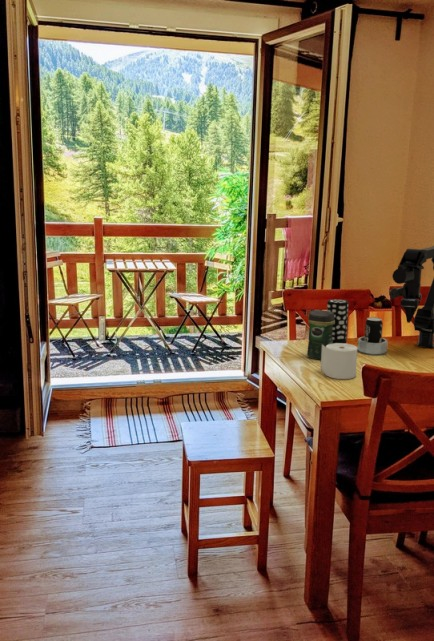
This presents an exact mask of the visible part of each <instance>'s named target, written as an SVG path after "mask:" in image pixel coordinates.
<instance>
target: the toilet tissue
mask: <svg viewBox="0 0 434 641" xmlns="http://www.w3.org/2000/svg"><path fill="white" fill-rule="evenodd" d="M357 348H358V346H356V345H354V344H350V343H346V344H345V343H334V344H329V345H327V346H326V347H325V346H324V345H322V352H321V360H320V369H321V370H320V371H322V373H323V374H324V375H325V376H327V377H328V378H329V377H330V378H332V379H335V380H348V379H349V380H350V379H354V378H355V377H356V376H357V361H358V351H357Z"/></svg>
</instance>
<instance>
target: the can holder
mask: <svg viewBox="0 0 434 641" xmlns="http://www.w3.org/2000/svg"><path fill="white" fill-rule="evenodd" d="M364 339H365V336H361V337H358V338H357V353H360V354H362V355H367V356H385V355H387V354H388V339H386V338H385V337H382V341H381V343H369V342H364Z"/></svg>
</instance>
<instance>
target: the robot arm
mask: <svg viewBox="0 0 434 641" xmlns="http://www.w3.org/2000/svg"><path fill="white" fill-rule="evenodd" d="M428 259H429V260H430V259H431V262H432V264H433V265H432V266H433V267H432V269H433V271H434V245H432V246H429V247H424V248H418V249H417V248H407V249H406V250H405V251H404V253H403V255H402V257H401V260H400V261H399V264H398V265H397V269H395V270H394V271H393V273H392V280H393V282H395V283H396V284H400V285H401V284H403V286H401V287H394V288H391V289H390V290H389V291H388V294H389V296H390V300H394V299H395V298H398V297H402V298H401V300H400V307H401V308H402V309H404V311H405V318H406V323H408V324H409V323H410V324H411V321H412V320H413V327H414V328H413V329H414V331H418V342H417V344H416V347H418V348H419V347H420V348H429V349H434V277H433V278H432V281H431V284H430V288H429V291H428V293H427V296H426V299H425V302H424V305H423V306H422V307H421V308H420V307H419V305H420V303H421V300H422V293H421V286H422V285H421V283H422V282H421V280H422V270H424V269H425V267H424V265H423V264H425V263H426V262H427V260H428Z"/></svg>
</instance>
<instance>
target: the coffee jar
mask: <svg viewBox="0 0 434 641" xmlns="http://www.w3.org/2000/svg"><path fill="white" fill-rule="evenodd" d="M334 322H335V319H334V313H333V312H331V311H327V310H322V309H313V310H310V311H309V313H308V324H309V333H308V343H307V354H306V355H307V357H308V358H310V359H314V360H320V361H321V352H322V345H324V346H325V347H326V346H327V345H329V344H333V339H332V329H333V325H334Z"/></svg>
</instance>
